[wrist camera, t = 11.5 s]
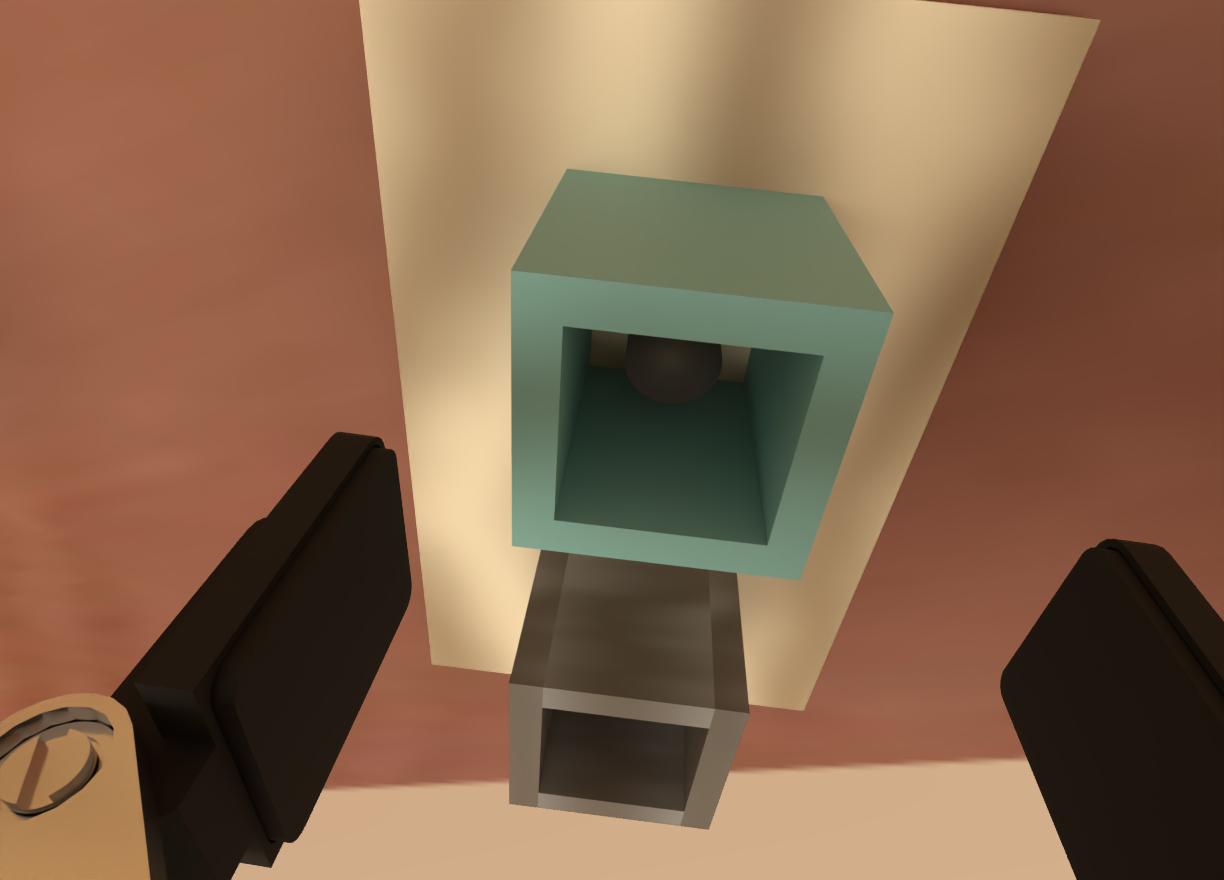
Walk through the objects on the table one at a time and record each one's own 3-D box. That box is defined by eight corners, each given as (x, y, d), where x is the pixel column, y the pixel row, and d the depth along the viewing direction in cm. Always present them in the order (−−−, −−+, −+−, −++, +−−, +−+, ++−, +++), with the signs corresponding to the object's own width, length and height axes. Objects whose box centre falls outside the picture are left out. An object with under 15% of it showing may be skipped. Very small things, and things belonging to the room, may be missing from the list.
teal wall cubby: (823, 196, 15) (894, 312, 10) (767, 412, 18) (799, 580, 13) (567, 168, 15) (510, 270, 10) (557, 388, 18) (512, 546, 13)
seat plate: (1070, 15, 13) (1370, 57, 8) (798, 682, 26) (832, 890, 20) (376, -59, 14) (148, -74, 8) (441, 638, 26) (372, 830, 21)
